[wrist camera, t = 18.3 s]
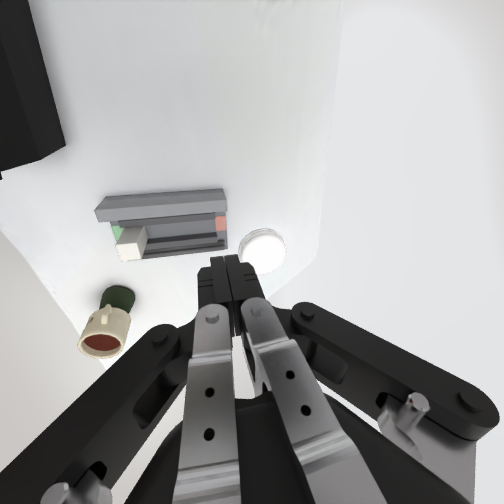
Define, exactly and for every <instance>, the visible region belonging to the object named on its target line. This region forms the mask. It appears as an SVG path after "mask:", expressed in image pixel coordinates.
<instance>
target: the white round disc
mask: <svg viewBox="0 0 504 504" xmlns="http://www.w3.org/2000/svg"><path fill="white" fill-rule="evenodd" d="M239 255H240V258H241V262H242V263H243V262H249V263H250V264H251V265H252V266H253V267H254V269H255V272H256V274H267V273H270V272H272V271H274V270H276V269H277V268H278V267H279V266H280V265H281V264H282V263H283V261H284V259H285V257H286V246H285V244H284V242H283V241H282V239H281V237H280V236H279V235H278V234H277V233H275V232H274V231H271V230H267V229H260V230H256V231H254V232H252V233H250V234H249V235H247V236H246V237H245V238H244V240H243V241H242V243H241V245H240V249H239Z"/></svg>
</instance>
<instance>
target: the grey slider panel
mask: <svg viewBox="0 0 504 504" xmlns="http://www.w3.org/2000/svg"><path fill="white" fill-rule="evenodd" d="M225 211H227V201H226V197H225V194H224V191H223V189H212V190H197V191H183V192H169V193H154V194H140V195H125V196H111V197H105V198H104V200H103V201H102V202H101V203H100V204H99V205H98V206H97V207H96V209H95V210H94V212H95V214H96V217H97V219H98V222H108V221H110V224H111V228H112V231H113V233H114V236H115V239H116V241H118V239H119V237H120V236H121V234H122V232H123V230H124V228H126V227H137V226H145V228H146V232H147V236H148V240H147V243H146V247H145V250H144V253H143V256H142V259H149V258H157V257H166V256H175V255H184V254H192V253H201V252H210V251H218V250H224V249H228V245H227V231H226V216H225ZM138 260H140V259H138ZM129 261H131V260H129Z"/></svg>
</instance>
